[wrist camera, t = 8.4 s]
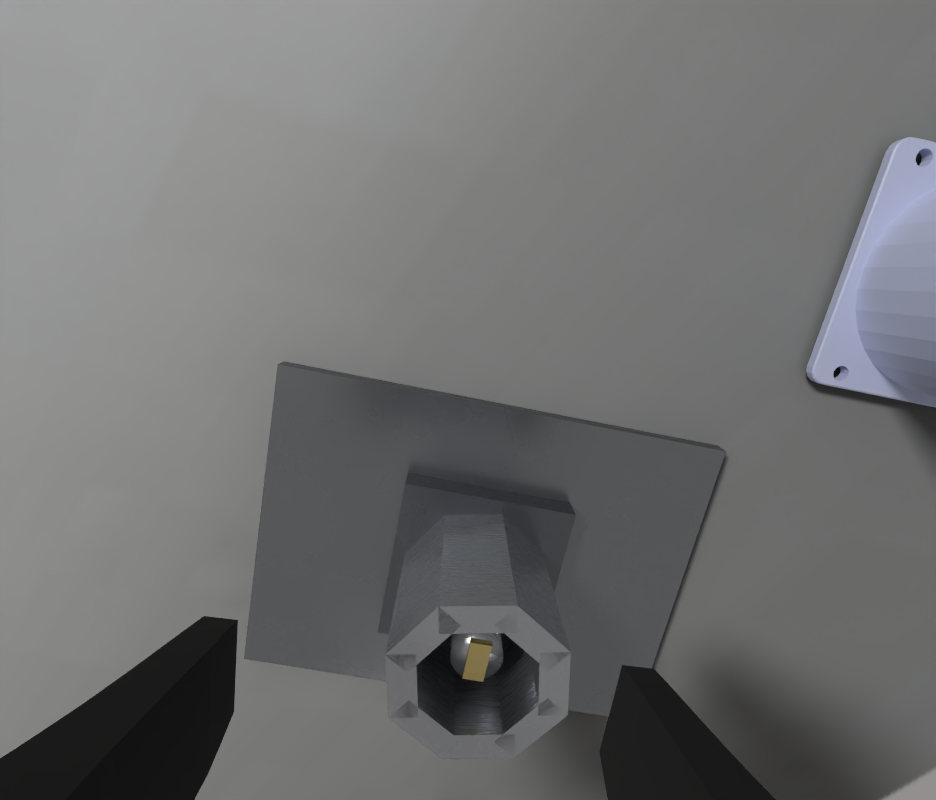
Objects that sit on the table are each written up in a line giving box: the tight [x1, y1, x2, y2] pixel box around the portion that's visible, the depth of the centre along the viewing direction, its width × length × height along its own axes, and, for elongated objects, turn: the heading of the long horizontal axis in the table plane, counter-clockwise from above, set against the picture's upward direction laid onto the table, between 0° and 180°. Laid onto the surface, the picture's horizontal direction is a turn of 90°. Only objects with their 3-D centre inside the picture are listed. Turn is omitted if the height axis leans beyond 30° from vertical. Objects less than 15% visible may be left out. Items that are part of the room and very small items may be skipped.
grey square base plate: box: [244, 362, 726, 717], centre depth 17 cm, size 16×12×6 cm
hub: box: [385, 514, 571, 759], centre depth 16 cm, size 5×5×5 cm
